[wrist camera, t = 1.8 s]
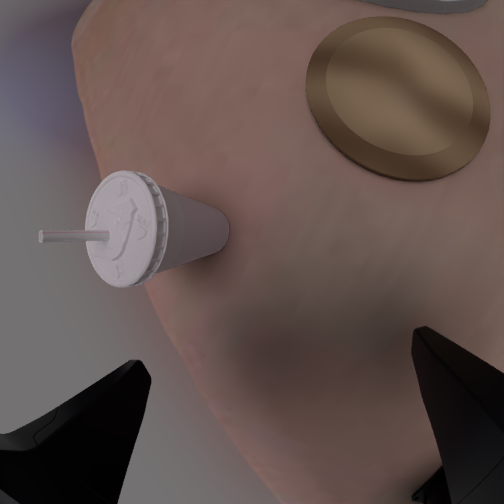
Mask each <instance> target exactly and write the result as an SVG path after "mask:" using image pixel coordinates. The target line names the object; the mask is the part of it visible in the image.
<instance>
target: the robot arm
mask: <svg viewBox="0 0 504 504" xmlns="http://www.w3.org/2000/svg"><path fill="white" fill-rule="evenodd" d="M411 354H412V358H413V362H414V366H415V370H416V374H417V378H418V383H419V387H420V391H421V395H422V399H423V402H424V405H425V408H426V411H427V414H428V417H429V420H430V423H431V426H432V429H433V432H434V435H435V439H436V442H437V445H438V449H439V452H440V456H441V460H442V463H443V466H442V467H441V468H440V470H439V471H438V472H437V473H436V474H435V475H434V476H433V477H432V478H431V479H430V480H428V481H427V482H426V483H425V484H424V485H423V486H422V487H421V488H420V489H419V490H418V491H417V492H416V493H414V494H413V495H412V501H416V502H421V503H423V504H504V373H503V372H501V371H499V370H498V369H496V368H495V367H493V366H491V365H490V364H488V363H487V362H485V361H483V360H482V359H480V358H479V357H477V356H475V355H474V354H472V353H470V352H469V351H467V350H466V349H464V348H462V347H461V346H459V345H457V344H456V343H454V342H452V341H451V340H449V339H448V338H446V337H444V336H443V335H441V334H439V333H438V332H436V331H434V330H433V329H431V328H429V327H427V326H423V327H419V328H416V329H414V331H413V338H412V347H411ZM150 386H151V376H150V374H149V373H148V371H147V369H146V368H145V366H144V364H143V362H142V361H140V360H129V361H128V362H126V363H125V364H123V365H122V366H120V367H119V368H117V369H116V370H114V371H112V372H111V373H110V374H108V375H106V376H105V377H103V378H102V379H100V380H99V381H97V382H96V383H94V384H93V385H91V386H89V387H88V388H86V389H85V390H83V391H82V392H80V393H79V394H77V395H75V396H74V397H73V398H71V399H69V400H68V401H66V402H64V403H63V404H61V405H60V406H58V407H56V408H55V409H53V410H52V411H50V412H48V413H47V414H45V415H44V416H42V417H40V418H38V419H36V420H34V421H32V422H31V423H29V424H27V425H25V426H23V427H21V428H19V429H17V430H15V431H13V432H10V433H7V434H0V504H117V503H118V499H119V496H120V492H121V489H122V486H123V482H124V479H125V475H126V472H127V468H128V465H129V462H130V458H131V455H132V452H133V449H134V445H135V442H136V439H137V436H138V433H139V430H140V426H141V423H142V420H143V417H144V413H145V408H146V403H147V399H148V395H149V390H150Z"/></svg>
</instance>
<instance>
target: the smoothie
mask: <svg viewBox="0 0 504 504" xmlns="http://www.w3.org/2000/svg"><path fill="white" fill-rule="evenodd" d="M229 233H230V228H229V223H228V220H227V218H226V216H225V215H224V214H223V213H222V212H221V211H220V210H218V209H216V208H213V207H211V206H209V205H206V204H204V203H201V202H199V201H196V200H194V199H191V198H189V197H186V196H184V195H181V194H179V193H176V192H174V191H171V190H169V189H166V188H164V187H162V186H159V185H157V184H156V183H155V182H154V180H153V179H152V178H150V177H149V176H147V175H145V174H144V173H140V172H133V171H132V172H130V171H117V172H114V173H112V174H110V175H109V176H108V177H106V178H105V179H104V180H103V181H102V182H101V183H100V185H99V186H98V187H97V189H96V191H95V192H94V194H93V196H92V199H91V201H90V204H89V207H88V211H87V215H86V222H85V230H44V231H43V230H41V231H40V232H39V241H40V242H41V243H47V242H75V241H86V246H87V251H88V255H89V258H90V261H91V263H92V265H93V267H94V269H95V270H96V272H97V273H98V275H99V276H100V277H101V278H102V279H103V280H104V281H105V282H107V283H108V284H110V285H112V286H115V287H127V286H132V287H134V286H137V285H141V284H144V283H145V282H146V281H147V280H149V279H150V278H151V277H153V275H154V274H156V273H159V272H162V271H164V270H167V269H170V268H173V267H176V266H179V265H182V264H185V263H187V262H190V261H193V260H196V259H199V258H202V257H205V256H208V255H211V254H214V253H216V252H218V251H220V250H221V249H222V248H223V247H224V246H225V245H226V243H227V241H228V238H229Z"/></svg>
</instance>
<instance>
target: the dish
mask: <svg viewBox="0 0 504 504" xmlns="http://www.w3.org/2000/svg"><path fill="white" fill-rule="evenodd" d="M361 1H365V2H369V3H373V4H377V5H381V6H384V7H390V8H396V9H402V10H408V11H413V12H422V13H438V14H452V13H463V12H470V11H472V10H474V9H477V8H479V7H482V6H483V5H484V4H485V2H486V1H487V0H361Z"/></svg>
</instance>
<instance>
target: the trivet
mask: <svg viewBox="0 0 504 504" xmlns="http://www.w3.org/2000/svg"><path fill="white" fill-rule="evenodd" d="M306 91H307V96H308V101H309V104H310V107H311V110H312V113H313V115H314V116H315V118H316V120H317V122H318V124H319V126H320V128H321V129H322V131H323V132H324V134H325V135H326V136H327V138H328V139H329V140H330V141H331V142H332V144H333V145H334V146H335V147H336V148H337V149H338V150H339V151H341V152H342V153H343V154H344V155H345V156H346V157H348V158H349V159H350V160H352V161H353V162H355V163H356V164H358V165H360V166H362V167H363V168H365V169H367V170H369V171H371V172H374V173H376V174H379V175H381V176H385V177H388V178H392V179H397V180H403V181H417V182H419V181H430V180H434V179H439V178H442V177H445V176H447V175H450V174H452V173H454V172H456V171H457V170H459V169H460V168H462V167H463V166H464V165H466V164H467V163H468V162H469V161H470V160H471V159H472V158H473V157H474V156H475V155H476V154H477V153H478V151H479V150H480V149H481V147H482V145H483V143H484V141H485V139H486V136H487V133H488V130H489V124H490V104H489V97H488V94H487V90H486V87H485V85H484V82H483V80H482V78H481V76H480V74H479V72H478V70H477V69H476V67H475V66H474V64H473V63H472V61H471V60H470V59H469V57H468V56H467V55H466V54H465V53H464V52H463V51H462V50H461V49H460V48H459V47H458V46H457V45H456V44H455V43H453V42H452V41H451V40H450V39H448V38H447V37H445V36H444V35H443V34H441V33H439V32H437V31H436V30H434V29H432V28H430V27H428V26H425V25H423V24H421V23H418V22H415V21H411V20H407V19H403V18H397V17H368V18H363V19H359V20H355V21H352V22H350V23H347V24H345V25H343V26H341V27H339V28H337V29H336V30H334V31H333V32H331V33H330V34H329V35H328V36H327V37H326V38H324V40H323V41H322V42H321V43H320V44H319V45H318V47H317V48H316V50H315V51H314V53H313V55H312V57H311V60H310V62H309V65H308V69H307V76H306Z"/></svg>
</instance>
